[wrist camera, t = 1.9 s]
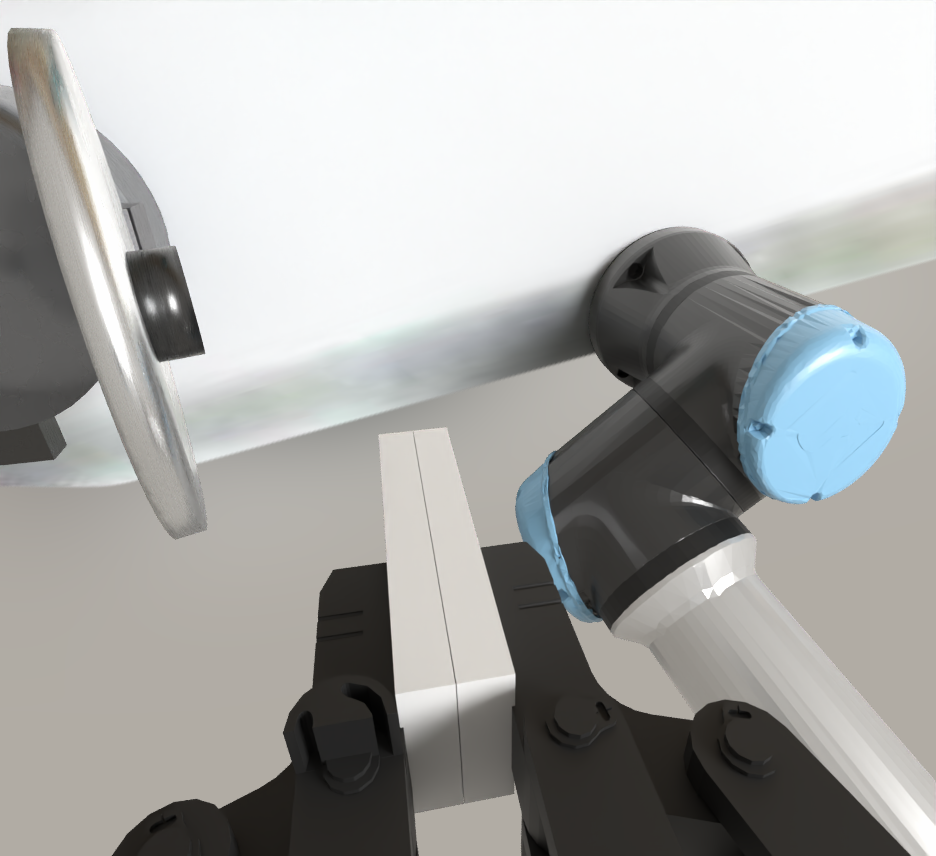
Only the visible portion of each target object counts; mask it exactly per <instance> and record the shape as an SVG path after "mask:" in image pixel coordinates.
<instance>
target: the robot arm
mask: <svg viewBox="0 0 936 856" xmlns="http://www.w3.org/2000/svg"><path fill="white" fill-rule="evenodd" d="M589 332H590V338H591V342H592V345H593V348H594V350H595V352H596V354H597V356H598V358H599V359H600V361H601V362H602V363H603V364H604V366H606V368H607V369H608V370H609V371H610V372H611V373H612V374H613V375H614V376H615V377H616V378H618V379H619V380H620V381H622V382H623V383H625V384H627V385H628V386H630V387H633V389H632V390H630V391H629V392H628V393H627V394H626V395H624V396H623V397H622V398H621V399H620V400H618V401H617V402H616V403H615V404H613V405H612V406H611V407H610V408H609V409H608V410H606V411H605V412H604V413H602V414H601V415H600V416H599V417H598V418H596V419H595V420H594V421H593V422H592V423H590V424H589V425H588V426H587V427H585V428H584V429H583V430H582V431H581V432H580V433H578V434H577V435H576V436H575V437H573V438H572V439H571V440H570V441H569V442H567V443H566V444H565V445H564V446H562V447H561V448H560V449H559V450H557V451H553V452H552V453H551V454H549V456H548V457H547V458H546V460H545V463H544V464H542V465H541V466H540V467H539V468H538V469H537V470H536V471H535V472H534V473H533V474H532V475H530V477H528V478H527V479H526V480H525V481H524V482H523V484H522V485H521V486H520V488H519V490H518V493H517V498H516V506H515V507H516V508H515V510H516V518H517V523H518V527H519V530H520V533H521V536H522V539H523V542H519V543H512V544H504V545H497V546H490V547H482V548H480V545H479V541H478V538H477V535H476V530H475V527H474V523H473V520H472V516H471V513H470V509H469V505H468V502H467V498H466V494H465V491H464V487H463V484H462V480H461V476H460V473H459V469H458V466H457V462H456V458H455V455H454V451H453V448H452V444H451V441H450V437H449V433H448V430H447V427H442V428H433V429H424V430H415V431H406V432H397V433H388V434H379V448H380V465H381V480H382V496H383V512H384V527H385V543H386V559H387V563H379V564H372V565H365V566H358V567H351V568H343V569H336V570H333V571H332V573H331V575H330V576H329V578H328V580H327V581H326V583H325V585H324V586H323V588H322V590H321V591H320V597H319V610H318V623H317V636H316V638H317V643H316V649H315V663H314V675H313V688H312V689H310V690H309V691H308V692H306V693H305V694H304V695H303V696H302V697H301V698H300V699H299V701H298V702H297V703H296V705H295V706H294V707H293V709H292V710H291V711H290V713H289V716H288V719H287V722H286V725H285V728H284V731H283V735H284V738H285V741H286V744H287V747H288V750H289V754H290V757H291V760H292V762H291V764H290V765H289V766H288V767H287V768H286V769H285V770H284V771H283V772H282V773H280V774H279V775H278V776H277V777H276V778H275V779H273V780H271V781H270V782H268V783H267V784H265V785H264V786H262V787H261V788H259V789H257V790H255V791H253V792H251V793H249V794H247V795H245V796H243V797H241V798H239V799H237V800H236V801H234V802H232V803H230V804H228V805H226V806H224V807H222V808H220V809H218V808H217V807H216V806H215V805H214V804H211V803H208V802H204V801H201V800H198V799H193V800H185V801H179V802H173V803H171V804H169V805H167V806H165V807H163V808H161V809H159V810H157V811H155V812H153V813H151V814H150V815H148V816H147V817H146V818H145V819H144V820H143V821H141V822H140V823H139V824H138V825H137V826H136V827H135V828H134V829H132V830H131V831H130V832H129V833H128V834H127V835H126V836H125V838H124V840H123V841H122V842H121V844H120V845H119V846H118V848H117V849H116V851H115V852H114V854H113V855H112V856H419V855H418V848H417V841H416V829H415V817H414V813H418V812H424V811H429V810H434V809H439V808H444V807H449V806H455V805H460V804H464V803H470V802H475V801H480V800H485V799H490V798H496V797H500V796H505V795H511V794H514V781H515V785H516V790H517V794H518V798H519V803H520V807H521V811H522V831H521V832H522V833H521V835H522V836H521V856H936V781H935V780H934V779H933V778H932V776H931V775H930V774H929V773H928V772H927V771H926V770H925V768H924V767H923V766H922V765H921V764H920V763H919V762H918V760H917V759H916V758H915V757H914V756H913V755H912V753H911V752H910V751H909V750H908V749H907V748H906V747H905V745H904V744H903V743H902V742H901V741H900V740H899V739H898V737H897V736H896V735H895V734H894V733H893V732H892V730H891V729H890V728H889V727H888V726H887V725H886V724H885V722H884V721H883V720H882V719H881V718H880V717H879V715H878V714H877V713H876V712H875V711H874V710H873V708H872V707H871V706H870V705H869V704H868V703H867V702H866V700H865V699H864V698H863V697H862V696H861V695H860V694H859V692H858V691H857V690H856V689H855V688H854V687H853V685H852V684H851V683H850V682H849V681H848V680H847V679H846V677H845V676H844V675H843V674H842V673H841V672H840V670H839V669H838V668H837V667H836V666H835V665H834V664H833V662H832V661H831V660H830V659H829V658H828V657H827V655H826V654H825V653H824V652H823V651H822V650H821V649H820V647H819V646H818V645H817V644H816V643H815V642H814V640H813V639H812V638H811V637H810V636H809V635H808V634H807V632H805V630H804V629H803V628H802V627H801V625H800V624H799V623H798V622H797V621H796V620H795V619H794V617H793V616H792V615H791V614H790V613H789V612H788V611H787V609H786V608H785V607H784V606H783V605H782V604H781V602H780V601H779V600H778V599H777V598H776V597H775V596H774V595H773V593H772V592H771V591H770V590H769V589H768V588H767V586H766V585H765V584H764V583H763V582H762V581H761V579H760V578H759V577H758V575H757V573H756V571H755V558H756V538H755V537H754V536H753V534H752V533H751V532H750V531H749V530H748V529H747V528H746V527H745V526H744V525H743V523H742V522H741V521H740V520H739V519H738V517H739V516H740V515H741V514H743V513H744V512H745V511H746V510H748V509H749V508H751V507H752V506H753V505H755V504H756V503H757V502H759V501H760V500H762V499H763V498H764V497H766V496H768V497H770V498H772V499H776V500H779V501H782V502H786V503H793V504H803V503H807V502H808V500H809V499H810V498H811V499H813V500H815V501H819V500H823V499H826V498H828V497H830V496H832V495H835V494H836V493H838V492H840V491H841V490H843V489H845V488H847V487H848V486H849V485H851V484H852V483H853V482H855V481H856V480H857V479H858V478H859V477H861V476H862V475H863V474H864V473H865V472H866V471H867V470H868V469H869V468H870V467H871V466H872V465H873V464H874V462H875V461H876V460H877V459H878V458H879V456H880V455H881V453H882V452H883V451H884V449H885V448H886V446H887V445H888V443H889V441H890V439H891V437H892V435H893V433H894V432H895V430H896V427H897V420H898V417H899V415H900V413H901V410H902V408H903V406H904V400H905V391H906V383H905V382H906V381H905V372H904V367H903V364H902V361H901V358H900V356H899V354H898V352H897V350H896V349H895V347H894V346H893V345H892V343H891V342H890V341H889V340H888V339H887V338H886V337H885V336H884V335H882V334H881V333H880V332H879V331H877V330H876V329H874V328H872V327H870V326H868V325H866V324H865V323H863V322H861V321H859V320H857V319H855V318H854V317H853V316H851V315H850V314H849V313H848V312H847V311H845V310H842V309H841V308H839V307H837V306H834V305H826V304H823V303H821V302H818V301H816V300H814V299H811V298H809V297H806V296H804V295H801V294H799V293H797V292H794V291H792V290H789V289H787V288H784V287H782V286H780V285H777V284H775V283H772V282H770V281H767V280H765V279H762V278H760V277H757V276H756V274H755V273H754V272H753V270H752V269H751V267H750V265H749V263H748V262H747V260H746V259H745V257H744V256H743V254H742V253H741V252H740V251H739V250H738V249H737V248H736V247H735V246H734V245H733V244H732V243H730V242H729V241H727V240H726V239H724V238H722V237H720V236H718V235H716V234H713V233H710V232H707V231H704V230H701V229H698V228H692V227H672V228H667V229H663V230H659V231H656V232H653V233H651V234H649V235H647V236H645V237H643V238H641V239H639V240H638V241H636V242H634V243H633V244H632V245H630V246H629V247H628V248H626V249H625V250H624V251H623V252H622V253H621V254H620V255H619V256H618V257H617V258H616V259H615V260H614V261H613V262H612V263H611V265H610V266H609V267H608V269H607V270H606V272H605V273H604V275H603V276H602V278H601V280H600V282H599V284H598V286H597V288H596V290H595V293H594V296H593V299H592V303H591V307H590V313H589ZM413 434H414V436H413ZM566 610H567V611H568V612H569V613H570V614H572V615H573V616H574V617H576V618H577V619H579V620H580V621H583V622H587V623H592V622H600V621H602V620H603V621H604V622H605V624H606V625H607V627H608V628H609V630H610V631H611V633H612V634H613V635H614V637H616V638H620V639H624V640H628V641H632V642H636V643H640V644H642V645H644V646H646V647H647V648H649V649H650V651H651V652H652V653H653V655H654V656H655V658H656V659H657V661H658V662H659V664H660V665H661V666H662V668H663V669H664V671H665V672H666V674H667V675H668V677H669V678H670V679H671V681H672V682H673V684H674V685H675V687H676V688H677V689H678V691H679V692H680V694H681V695H682V697H683V698H684V700H685V701H686V702H687V704H688V705H689V707H690V708H691V710H692V711H693V713H694V714H695V717H694V720H686V719H680V718H672V717H665V716H658V715H651V714H647V713H643V712H639V711H635V710H633V709H631V708H629V707H627V706H625V705H622V704H620V703H619V702H618V701H616V700H615V699H614V698H612V697H611V696H609V695H608V694H607V693H606V692H605V691H604V690H603V688H602V687H601V686H600V685H599V684H598V683H597V681H596V679H595V677H594V675H593V674H592V672H591V670H590V667H589V665H588V662H587V660H586V658H585V655H584V653H583V650H582V648H581V646H580V643H579V641H578V638H577V636H576V633H575V631H574V629H573V626H572V624H571V621H570V619H569V616H568V614H567V612H566ZM463 797H464V802H463Z"/></svg>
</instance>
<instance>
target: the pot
mask: <svg viewBox="0 0 936 856" xmlns="http://www.w3.org/2000/svg"><path fill="white" fill-rule="evenodd" d="M96 131H97V134H98V137H99V140H100V143H101V146H102V149H103V151H104V154H105V157H106V160H107V163H108V166H109V169H110V172H111V175H112V178H113V181H114V184H115V187H116V190H117V193H118V196H119V199H120V203H121V206H122V209H127V211H128V214H129V217H130V220H131V224H132V227H133V230H134V234H135V237H136V240H137V243H138V247H139V250H145V249H153V248H161V247H170V244H169V239H168V234H167V230H166V226H165V224H164V221H163V218H162V215H161V212H160V210H159V208H158V206H157V203H156V201H155V199H154V197H153V195H152V193H151V192H150V190H149V188H148V187H147V185H146V184H145V182H144V180H143V179H142V177H141V176H140V174H139V173H138V172H137V170H136V169H135V168H134V167H133V165H132V164H131V163H130V162H129V160H128V159H127V158H126V157H125V156H124V155H123V154H122V153H121V152H120V151H119V150H118V149H117V148H116V146H115V145H114V144H113V143H112V142H111V141H109V140H108V139H107V138H106V137H105V136H103V135H102V134H101V133H100V132H99V131H98V130H96ZM97 381H98V378H97V375H96V372H95V369H94V367H93V364H92V361H91V358H90V355H89V352H88V350H87V347H86V344H85V341H84V338H83V335H82V332H81V329H80V326H79V324H78V321H77V318H76V315H75V312H74V309H73V306H72V302H71V299H70V296H69V293H68V290H67V287H66V284H65V281H64V278H63V275H62V272H61V269H60V265H59V262H58V259H57V255H56V252H55V249H54V245H53V242H52V239H51V236H50V232H49V229H48V226H47V222H46V219H45V215H44V212H43V208H42V205H41V201H40V198H39V194H38V190H37V187H36V183H35V180H34V176H33V172H32V168H31V165H30V161H29V157H28V153H27V149H26V145H25V141H24V137H23V133H22V129H21V124H20V119H19V115H18V110H17V106H16V101H15V96H14V91H13V87H9V86H4V85H0V465H8V464H17V463H27V462H36V461H45V460H54V459H55V458H56V457H57V456H58V455H59V454H60V452H61V451H62V450H63V449H64V448H65V447H66V445H67V444H66V442H65V440H64V437H63V435H62V433H61V431H60V428H59V426H58V424H57V421H56V419H55V417H54V416H56V415H57V414H59V413H61V412H62V411H64V410H66V409H67V408H69V407H71V406H72V405H73V404H74V403H75V402H77V401H78V400H79V399H80V398H81V397H83V396H84V395H85V394H86V393H87V392H88V391H89V390H90V389H91V388H92V387H93V386H94V384H95V383H96V382H97Z"/></svg>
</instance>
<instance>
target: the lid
mask: <svg viewBox="0 0 936 856" xmlns="http://www.w3.org/2000/svg"><path fill="white" fill-rule="evenodd" d="M7 48H8V59H9V68H10V74H11V79H12V85H13V91H14V96H15V101H16V106H17V110H18V115H19V119H20V124H21V129H22V133H23V137H24V141H25V145H26V149H27V153H28V157H29V161H30V165H31V168H32V172H33V176H34V180H35V183H36V187H37V190H38V194H39V198H40V201H41V205H42V208H43V212H44V215H45V219H46V222H47V226H48V229H49V232H50V236H51V239H52V242H53V245H54V249H55V252H56V255H57V259H58V262H59V265H60V269H61V272H62V275H63V278H64V281H65V284H66V287H67V290H68V293H69V296H70V299H71V302H72V306H73V309H74V312H75V315H76V318H77V321H78V324H79V326H80V329H81V332H82V335H83V338H84V341H85V344H86V347H87V350H88V352H89V355H90V358H91V361H92V364H93V367H94V369H95V372H96V375H97V378H98V380H99V383H100V386H101V388H102V391H103V394H104V397H105V399H106V402H107V405H108V407H109V410H110V412H111V415H112V417H113V420H114V422H115V425H116V427H117V430H118V433H119V435H120V438H121V440H122V443H123V445H124V447H125V450H126V452H127V454H128V457H129V459H130V461H131V464H132V466H133V468H134V471H135V473H136V475H137V477H138V480H139V482H140V484H141V486H142V488H143V490H144V492H145V495H146V497H147V499H148V500H149V502H150V504H151V506H152V508H153V510H154V512H155V514H156V516H157V518H158V519H159V521H160V522H161V524H162V526H163V527H164V529H165V530H166V531H167V533H168V534H169V535H170V536H171V537H172V538H174V539H179V538H182V537H185V536H189V535H192V534H195V533H199V532H202V531H205V530H207V517H206V510H205V504H204V499H203V494H202V489H201V484H200V480H199V475H198V471H197V466H196V462H195V458H194V454H193V450H192V446H191V442H190V438H189V434H188V430H187V426H186V422H185V419H184V415H183V411H182V407H181V404H180V400H179V396H178V393H177V389H176V385H175V382H174V378H173V374H172V371H171V367H170V364H169V361H170V360H175V359H181V358H186V357H191V356H196V355H202V354H205V350H204V346H203V342H202V338H201V334H200V331H199V327H198V323H197V320H196V316H195V312H194V309H193V305H192V301H191V298H190V294H189V291H188V287H187V284H186V280H185V277H184V273H183V270H182V266H181V263H180V260H179V256H178V253H177V250H176V247H175V246H170V247H161V248H153V249H145V250H139V247H138V243H137V240H136V237H135V234H134V230H133V227H132V224H131V220H130V217H129V214H128V211H127V209H122V206H121V203H120V199H119V196H118V193H117V190H116V187H115V184H114V181H113V178H112V175H111V172H110V169H109V166H108V163H107V160H106V157H105V154H104V151H103V149H102V146H101V143H100V140H99V137H98V134H97V131H96V128H95V126H94V123H93V120H92V117H91V114H90V112H89V109H88V106H87V103H86V100H85V98H84V95H83V93H82V90H81V87H80V85H79V82H78V79H77V77H76V74H75V72H74V69H73V67H72V64H71V62H70V59H69V57H68V55H67V52H66V50H65V48H64V46H63V44H62V42H61V40H60V38H59V36H58V34H57V33H56V31H55V30H54V29H32V28H11V29H10V31H9V32H8V42H7Z"/></svg>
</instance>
